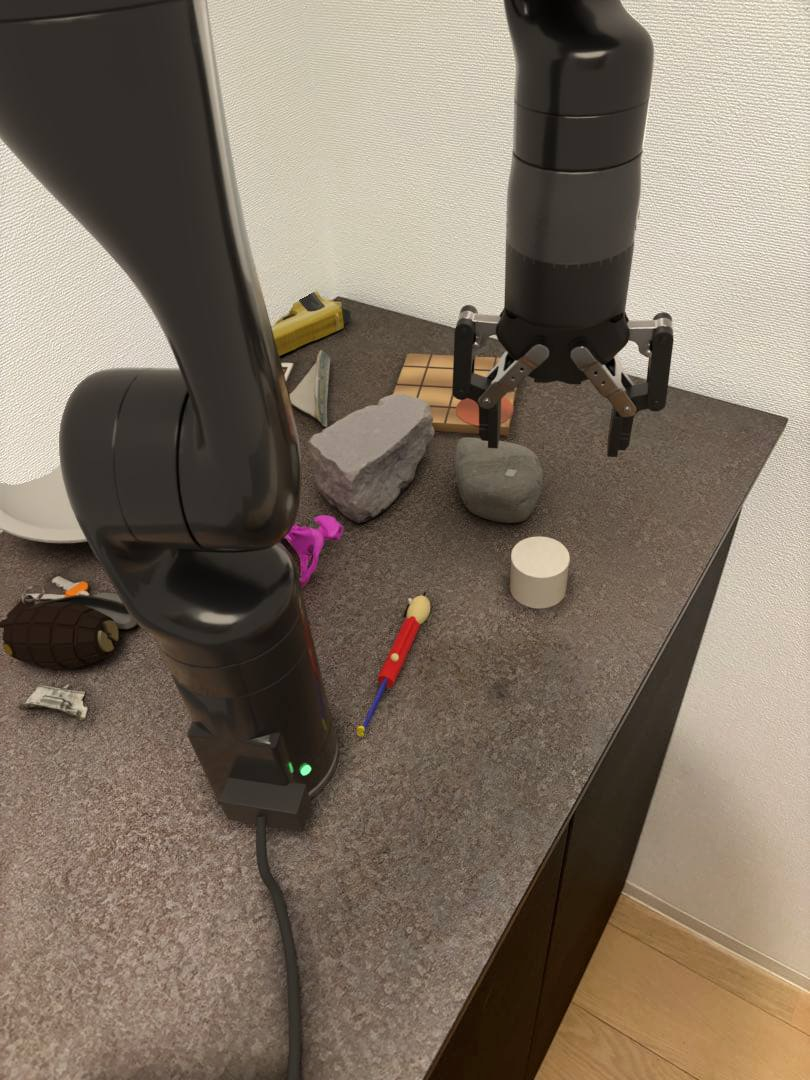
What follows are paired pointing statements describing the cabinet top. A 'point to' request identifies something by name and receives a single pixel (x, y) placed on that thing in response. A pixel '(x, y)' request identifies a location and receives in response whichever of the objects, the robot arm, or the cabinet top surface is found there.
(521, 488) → the stone
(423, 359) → the board
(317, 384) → the ceramic fragment
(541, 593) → the cream short cylinder
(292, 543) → the pelvis
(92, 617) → the hand grenade
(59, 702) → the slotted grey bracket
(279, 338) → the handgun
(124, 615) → the key chain
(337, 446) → the decorative stone
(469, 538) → the cabinet top surface
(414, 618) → the red screwdriver
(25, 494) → the soup bowl
